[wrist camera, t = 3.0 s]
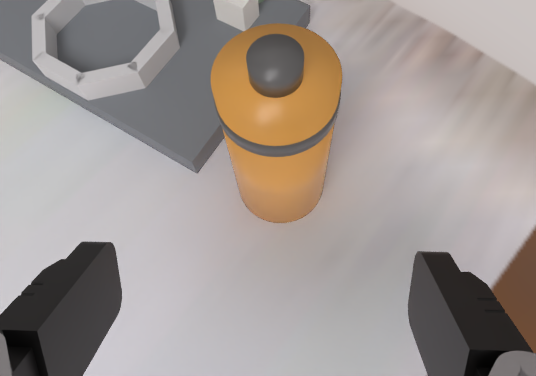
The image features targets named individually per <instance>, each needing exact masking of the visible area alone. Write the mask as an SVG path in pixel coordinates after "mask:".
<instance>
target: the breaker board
mask: <svg viewBox="0 0 536 376" xmlns="http://www.w3.org/2000/svg"><path fill="white" fill-rule="evenodd" d="M309 17H310V5H308V4H305V3H303V2H301V1H298V0H0V59H1V60H2V61H4V62H6V63H8V64H9V65H11V66H13V67H14V68H16V69H18V70H20V71H21V72H23V73H25V74H26V75H28V76H30V77H32V78H33V79H35V80H37V81H39V82H40V83H42V84H44V85H45V86H47V87H49V88H51V89H52V90H54V91H56V92H58V93H59V94H61V95H63V96H64V97H66V98H68V99H70V100H71V101H73V102H75V103H77V104H78V105H80V106H82V107H83V108H85V109H87V110H89V111H90V112H92V113H94V114H95V115H97V116H99V117H101V118H102V119H104V120H106V121H108V122H109V123H111V124H113V125H114V126H116V127H118V128H120V129H121V130H123V131H125V132H127V133H128V134H130V135H132V136H133V137H135V138H137V139H139V140H140V141H142V142H144V143H146V144H147V145H149V146H151V147H152V148H154V149H156V150H158V151H159V152H161V153H163V154H164V155H166V156H168V157H170V158H171V159H173V160H175V161H177V162H178V163H180V164H182V165H183V166H185V167H187V168H189V169H190V170H192V171H194V172H196V173H198V172H199V170H200V169H201V168H202V166H203V165H204V163H205V162H206V161H207V159H208V158H209V157H210V155H211V154H212V153H213V151H214V150H215V149H216V147H217V146H218V145H219V143H220V142H221V141H222V139H223V138H224V137H225V136H224V133H223V129H222V126H221V124H220V122H219V119H218V115H217V112H216V108H215V105H214V98H213V97H214V96H213V92H212V89H211V70H212V66H213V63H214V60H215V59H216V57H217V55H218V53H219V52H220V50H221V49H222V48H223V47H224V46H225V44H226V43H227V42H229V41H230V40H231V39H232V38H233V37H235V36H236V35H238V34H240V33H242V32H243V31H245V30H248V29H250V28H253V27H256V26H260V25H266V24H276V23H280V24H291V25H296V26H300V27H303V28H306V26H307V25H308V24H309Z"/></svg>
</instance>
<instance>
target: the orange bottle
mask: <svg viewBox="0 0 536 376" xmlns="http://www.w3.org/2000/svg"><path fill="white" fill-rule="evenodd" d="M341 84H342V68H341V64H340V61H339V59H338V56H337V54H336V53H335V51H334V50H333V48H332V47H331V46H330V45H329V44H328V42H326V41H325V40H324V39H323V38H322V37H320V36H319V35H317V34H316V33H314V32H312V31H310V30H308V29H305V28H303V27H300V26H296V25H291V24H280V23H276V24H266V25H260V26H256V27H253V28H250V29H248V30H245V31H243V32H242V33H240V34H238V35H236V36H235V37H233V38H232V39H231V40H230V41H229V42H227V43H226V44H225V46H224V47H223V48H222V49H221V50H220V52H219V53H218V55H217V57H216V59H215V60H214V63H213V66H212V70H211V89H212V92H213V96H214V97H213V98H214V105H215V108H216V112H217V115H218V119H219V122H220V124H221V126H222V129H223V133H224V136H225V140H226V143H227V147H228V151H229V154H230V158H231V162H232V165H233V169H234V173H235V176H236V180H237V184H238V187H239V191H240V194H241V198H242V200H243V202H244V204H245V205H246V207H247V208H248V209H249V210H250V211H251V212H252V213H253V214H255V215H256V216H257V217H259V218H261V219H263V220H266V221H269V222H274V223H287V222H292V221H295V220H298V219H300V218H302V217H304V216H306V215H307V214H308V213H309V212H311V211H312V210H313V208H314V207H315V206H316V205H317V203H318V201H319V199H320V197H321V194H322V189H323V184H324V178H325V173H326V167H327V162H328V156H329V151H330V145H331V140H332V134H333V129H334V123H335V120H336V117H337V113H338V108H339V103H340V95H341Z"/></svg>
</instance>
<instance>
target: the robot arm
mask: <svg viewBox="0 0 536 376" xmlns="http://www.w3.org/2000/svg"><path fill="white" fill-rule="evenodd" d="M121 301H122V289H121V283H120V276H119V270H118V263H117V257H116V251H115V247H114V245H113V244H112V243H111V242H81V243H80V244H79V245H78V246H77V247H76V248H75V250H74V251H73V252H72V253H71V254H70V255H69V256H68V257H67V258H66V259H61V260H59V261H57V262H56V263H54V264H52V265H51V266H49V267H47V268H46V269H44V270H43V271H42V272H41V273H40V274H39V275H38V276H37V277H36V278H35V279H34V280H33V281H32V282H31V285H28V286H27V287H26V288H25V290H24V291H23V292H22V293H21V296H18V297H17V298H16V299H15V300H14V301H13V302H12V303H11V304H10V305H9V306H8V307H7V308H6V309H5V310H4V311H3V313H2V314H1V315H0V376H83V374H84V372H85V371H86V369H87V367H88V365H89V364H90V362H91V360H92V359H93V357H94V355H95V353H96V352H97V350H98V348H99V346H100V345H101V343H102V341H103V339H104V338H105V336H106V334H107V333H108V331H109V329H110V327H111V326H112V324H113V322H114V320H115V319H116V317H117V315H118V313H119V310H120V307H121ZM408 316H409V322H410V326H411V329H412V332H413V335H414V338H415V340H416V343H417V346H418V349H419V352H420V354H421V357H422V360H423V363H424V366H425V368H426V371H427V374H428V376H536V354H535V353H533V351H532V350H531V348H530V347H529V345H528V344H527V342H526V341H525V340H524V338H523V336H522V335H521V334H520V332H519V331H518V329H517V328H516V326H515V325H514V323H513V322H512V321H511V319H510V317H509V316H508V315H507V314H506V313H505V310H504V309H503V307H502V306H501V304H500V303H499V302H498V301H497V299H496V297H495V296H494V294H493V293H492V291H491V290H490V288H489V287H488V285H487V284H486V283H484V282H483V281H482V280H480V279H479V278H478V277H476V276H475V275H473V274H472V273H471V272H461V271H460V270H459V268H458V267H457V265H456V263H455V262H454V260H453V258H452V257H451V255H450V254H449V253H448V252H420V251H419V252H417V253H416V255H415V259H414V266H413V273H412V280H411V287H410V294H409V301H408Z"/></svg>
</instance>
